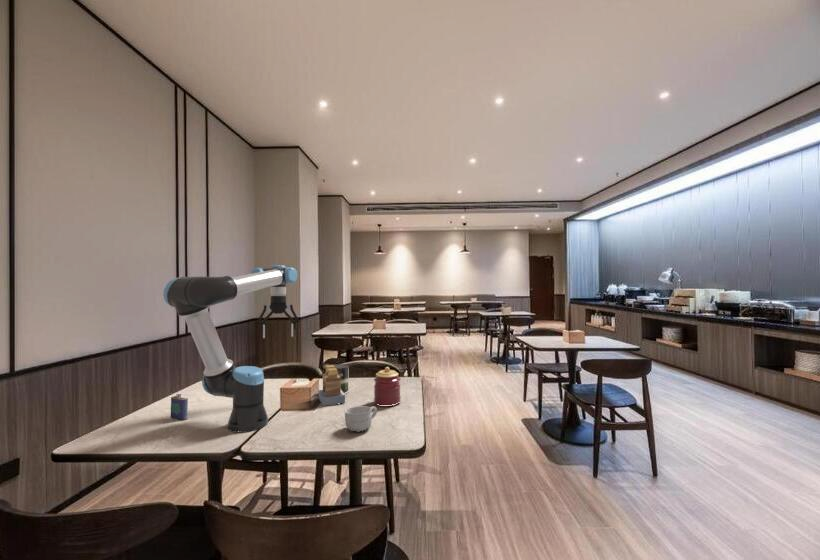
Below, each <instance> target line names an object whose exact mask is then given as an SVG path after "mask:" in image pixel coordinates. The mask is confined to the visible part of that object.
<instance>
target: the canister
mask: <svg viewBox="0 0 820 560" xmlns="http://www.w3.org/2000/svg"><path fill="white" fill-rule="evenodd" d="M399 374H400V373H398V372H397V371H396V370H394V369H390V366H386V367H384V369H381V370H379V371H378V372H376V373H375V377H374V379H373V381H374V385H373V388H374V389H373V390H374V393H373V394H374V398H373V402H374V404H375V403H376V404H379V405H392V404H396V403H398V402H400V403H401V384H400V381H401V378H400V376H399ZM376 404H375V405H376Z"/></svg>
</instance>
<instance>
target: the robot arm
mask: <svg viewBox="0 0 820 560" xmlns="http://www.w3.org/2000/svg"><path fill="white" fill-rule="evenodd" d="M297 279H298V271H297V269H295V268H294V267H288V266H286V265H283V264H280V265H279V264H277V265H276V264H273V265H271V266H270V267H265V268H264V267H255V268H253V269H251V272H250V273H248V274H243V275H238V276H237V275H236V276H230V275H225V276H181V277H175V278H173V279H170V280H169V281H168V282H167V284H165V287H164V289H163V299H164V300H163V301H165V303H166V304H167V305H168V306H170V307H174V309H175V311H176V313H177V316H178V317H181V318H184V320H185V324H186V325H187V327H188V330H189V332H190V334H191V336H192V339H193V341H194V344H195V346H196V348H197V351H198V354H199V356H200V358H201V360H202V362H203V365H204V367H205V368H204V370H203V372H202V374H203V376H202V378H203V379H202V380H201V384H202V387H203V389H204V391H205V392H206V393H207V394H210V395H212V396H214V397H223V398H230V399H232V409H231V412H230V416H229V417H228V422H227V429H228V431H230V430H231V431H230V432H233V431H236V432H235V433H245V432H244V431H246V432H251V431H250V430H252V431H255V429H256V430H259V429H262V428H265V426H267V425H268V423H269V417H268V414H267V411H266V407H265V405H264V403H265V402H264V397H265V396H264V395H265V392H264V391H265V390H264V387H265V375H264V371H263V369H262V368H260V367H258V366H255V365H254V366H252V365H250V366H249V365H244V366H243V365H242V366H238V367H236V365H235V363H234V361H233V360H232V359H229V358H228V357H227V354H226V352H225V349H224V347H223V344H222V341H221V340H220V339H221V338H220V337H219V334H218V332H217V329H216V326H215V325H214V322H213V320H212V316H211V314H210V312H209V309H210V307H211V306H215V305H218V304H221V303H225V302H228V301H231V300H234V299H236V298H237V296H241V295H245V294H248V293H252V292H256V291H261V290H263V289H264V290H265V289H268V288H270V304H269V305H267V304H265V305H264V306H263V309H262V311H261V313H260V316H259V318H258V319H257V321H256V324H258V325H260V332H262V338H263V339H265V338H266V326H265V323H266V322H267V320H269V318H270V317H272V315H273V314H275V315H276V314H277V315H278V314H281V315H282V314H284V315H285V316H286V317H287V318H288V319H289V320H290V321H291V322H292V323H291V327H290V328H291V329H290V330H291V332H290V333H291V337H292V338H293V337H294V331H295V330H296V326H297V325H296V324H297V323H299V322H300V319H299V318H298V316H297V314H296V312H295V310H294V306H293V304H287V285H289V284H294V283H296V281H297ZM287 308H288V310H290V311H291V314H292V315H293V317H294V319H295V320H294V319H293V317H292V316H291V315H290V314H289V313H288V312H287V311H286V310H287ZM269 309H270V310H271V311H269V313H268V314H267V315H266V316H265V318H264V319H263V316H264V315H265V313H266V312H267V310H269ZM262 319H263V320H262ZM238 431H239V432H238Z"/></svg>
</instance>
